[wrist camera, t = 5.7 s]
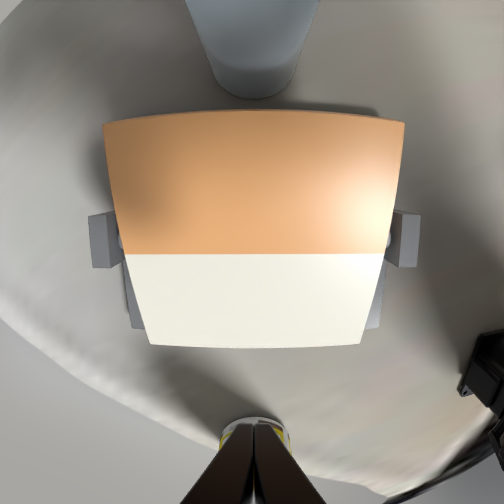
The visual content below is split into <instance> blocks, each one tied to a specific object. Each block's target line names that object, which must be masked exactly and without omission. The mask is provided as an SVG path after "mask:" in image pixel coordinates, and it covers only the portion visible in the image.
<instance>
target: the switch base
mask: <svg viewBox="0 0 504 504" xmlns="http://www.w3.org/2000/svg"><path fill="white" fill-rule="evenodd" d="M420 223H421V215H418V214H413V213H409V212H404V211H399V210H394V209H393V214H392V220H391V225H390V234H391V241H390V245H389V247H388V248H386V249H385V253H384V257H383V262H382V266H381V270H380V274H379V278H378V282H377V286H376V289H375V293H374V297H373V300H372V304H371V307H370V311H369V314H368V318H367V321H366V324H365V327H364V329H372V328H378V327H379V321H380V314H381V307H382V300H383V292H384V284H385V276H386V266H387V261H389V262H390V263H392V264H394V265H395V266H397V267H417V258H418V248H419V237H420ZM88 224H89V237H90V247H91V257H92V265H93V268H112V267H114V266H115V265H117V264H118V263H120V262H122V261H123V268H124V277H125V286H126V293H127V301H128V308H129V314H130V320H131V327H132V328H133V329H145V326H144V323H143V320H142V316H141V313H140V310H139V307H138V303H137V300H136V296H135V293H134V289H133V285H132V282H131V278H130V274H129V270H128V266H127V262H126V258H125V254H124V250H123V249H122V248H121V247H120V245H119V241H118V235H119V228H118V223H117V218H116V213H115V211H111V212H106V213H101V214H97V215H92V216H88Z"/></svg>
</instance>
